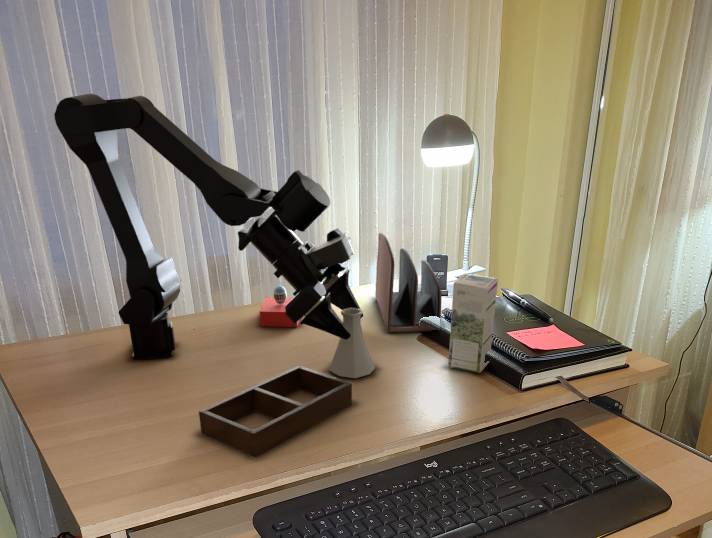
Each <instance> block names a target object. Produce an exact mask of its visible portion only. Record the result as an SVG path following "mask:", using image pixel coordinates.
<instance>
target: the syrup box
mask: <svg viewBox="0 0 712 538" xmlns="http://www.w3.org/2000/svg"><path fill="white" fill-rule="evenodd" d="M498 283H499V278H497V277H492V276H485V275H479V274H473V273H472V274H471V273H462V274H461V275H460V276H459V277H458V278H457V279H455V281H454V282H453V288H452V301H451V303H452V304H451V320H450V333H449V334H450V335H449V350H448V364H447V365H448V366H447V367H448V368H451V369H457V370H462V371H466V372H472V373H477V374H481V372H482V371H484V369H485V368H486V367H487V365H489V363H490V361H487V362H486V363H485V362H484V361H485V355H486V353H487V352H488V351H489V350H490V349H491V350H492V341H493V330H494V320H495V311H496V302H497V293H498Z"/></svg>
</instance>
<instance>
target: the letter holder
mask: <svg viewBox="0 0 712 538" xmlns="http://www.w3.org/2000/svg"><path fill="white" fill-rule="evenodd" d="M377 238H378V240H377V242H378V243H377V254H376V256H377V257H376V270H375V271H376V272H375V273H376V275H375V276H376V277H375V292H374V293H375V295H374V296H375V299H376V302H377V305H378V308H379V311H380V314H381V317H382V319H383V322H384V325H385V328H386V331H387V333H388V334H391V333H419V332H420V333H421V332H433V331H432V330H430V329H427V328H425V327H420V326H419V321H420V319H421V318H423V317H429V316H437V317H439V318H441V319H442V288H441V285H440V282H439V280H438V278H437V275H436V273H435V271H434V269H433V268H432V267H431V265H430V263H429V262H428V261H427V260H426V259H421V261H420V265H421V266H420V290H419V289H418V288H419V277H418V272H417V270H416V269H417V268H416V266H415V264H414V262H413V259H412V257H411V255H410V253H409V252H408V250H407V249H406V248H405V247H401V248H399V261H398V265H399V266H398V291H394V284H395V283H394V279H395V257H394V254H393V250H392V247H391V244H390V242H389V240H388V238H387V237H386V235H385V234H384V233H383V232H379V233H378V237H377ZM418 290H419V291H418Z"/></svg>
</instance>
